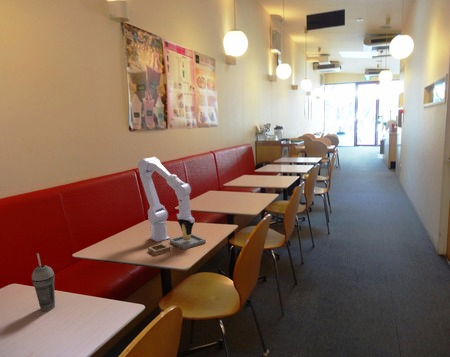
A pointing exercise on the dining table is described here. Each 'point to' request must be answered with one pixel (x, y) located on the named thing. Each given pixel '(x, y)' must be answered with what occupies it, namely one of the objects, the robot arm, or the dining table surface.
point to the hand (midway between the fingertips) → (186, 233)
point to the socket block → (155, 248)
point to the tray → (187, 242)
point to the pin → (185, 234)
